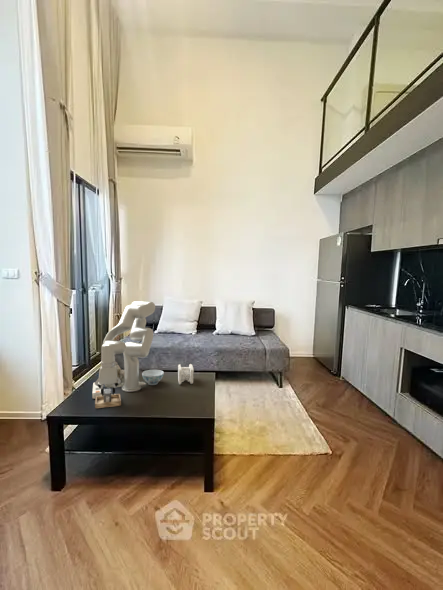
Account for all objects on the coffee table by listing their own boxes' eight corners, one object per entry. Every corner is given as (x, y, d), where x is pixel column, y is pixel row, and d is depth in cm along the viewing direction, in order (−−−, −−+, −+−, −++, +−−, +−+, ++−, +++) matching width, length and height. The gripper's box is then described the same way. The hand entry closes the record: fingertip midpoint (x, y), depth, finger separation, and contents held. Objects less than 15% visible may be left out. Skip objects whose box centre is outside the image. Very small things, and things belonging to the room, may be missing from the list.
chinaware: (145, 379, 230) (145, 369, 229) (165, 380, 229) (165, 370, 229) (139, 386, 215) (139, 375, 214) (160, 387, 214) (161, 376, 214)
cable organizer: (177, 378, 234) (178, 363, 233) (192, 378, 236) (192, 363, 235) (178, 385, 219) (178, 369, 218) (193, 385, 221) (194, 369, 220)
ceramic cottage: (101, 386, 214) (102, 364, 213) (116, 379, 229) (118, 359, 229) (119, 391, 209) (121, 369, 208) (134, 384, 224) (136, 363, 223)
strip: (102, 386, 213) (102, 381, 213) (102, 397, 195) (102, 391, 194) (93, 387, 211) (93, 381, 211) (92, 398, 193) (92, 392, 192)
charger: (111, 404, 184) (110, 397, 192) (111, 395, 183) (110, 388, 191) (103, 405, 183) (103, 398, 191) (103, 396, 182) (103, 389, 190)
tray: (119, 397, 195) (119, 393, 195) (120, 405, 184) (120, 401, 184) (95, 400, 191) (95, 396, 190) (95, 408, 179) (95, 404, 179)
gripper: (122, 361, 192) (122, 390, 193) (92, 363, 186) (92, 393, 188) (123, 365, 185) (123, 395, 186) (92, 367, 179) (92, 398, 180)
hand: (108, 394), depth 187 cm, fingers open, 5 cm apart
